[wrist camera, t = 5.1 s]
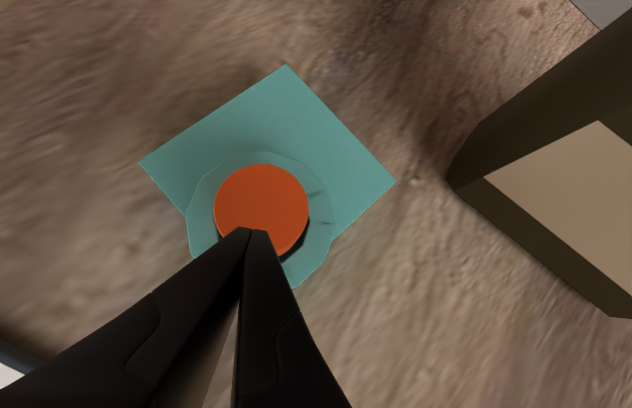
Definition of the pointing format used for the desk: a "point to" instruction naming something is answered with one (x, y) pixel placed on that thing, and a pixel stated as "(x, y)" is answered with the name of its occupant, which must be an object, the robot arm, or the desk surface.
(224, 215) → the orange short cylinder
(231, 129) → the cap block
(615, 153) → the bottle
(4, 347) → the phone case
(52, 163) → the desk surface
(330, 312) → the desk surface
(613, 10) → the icon cube
